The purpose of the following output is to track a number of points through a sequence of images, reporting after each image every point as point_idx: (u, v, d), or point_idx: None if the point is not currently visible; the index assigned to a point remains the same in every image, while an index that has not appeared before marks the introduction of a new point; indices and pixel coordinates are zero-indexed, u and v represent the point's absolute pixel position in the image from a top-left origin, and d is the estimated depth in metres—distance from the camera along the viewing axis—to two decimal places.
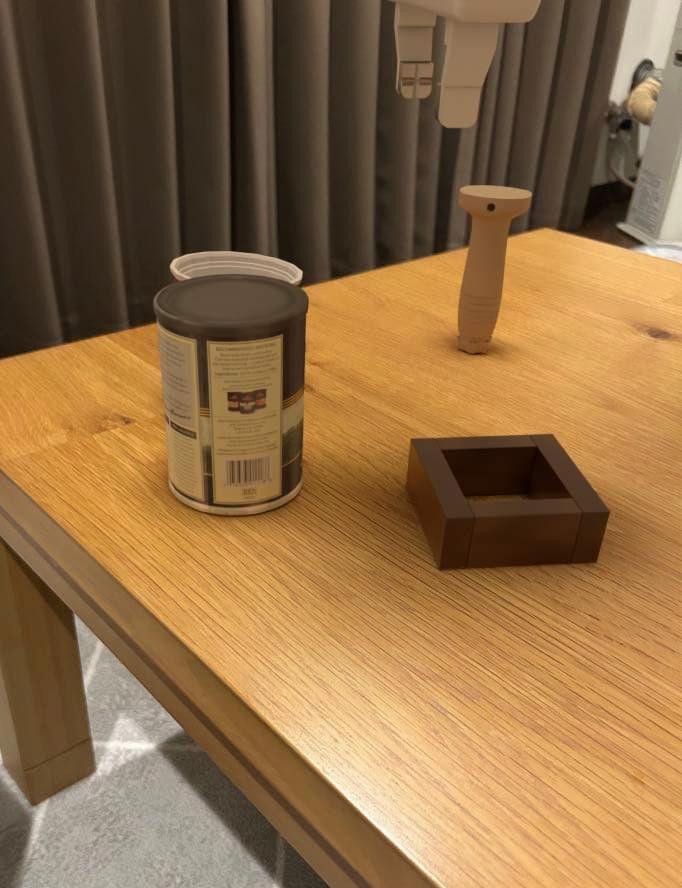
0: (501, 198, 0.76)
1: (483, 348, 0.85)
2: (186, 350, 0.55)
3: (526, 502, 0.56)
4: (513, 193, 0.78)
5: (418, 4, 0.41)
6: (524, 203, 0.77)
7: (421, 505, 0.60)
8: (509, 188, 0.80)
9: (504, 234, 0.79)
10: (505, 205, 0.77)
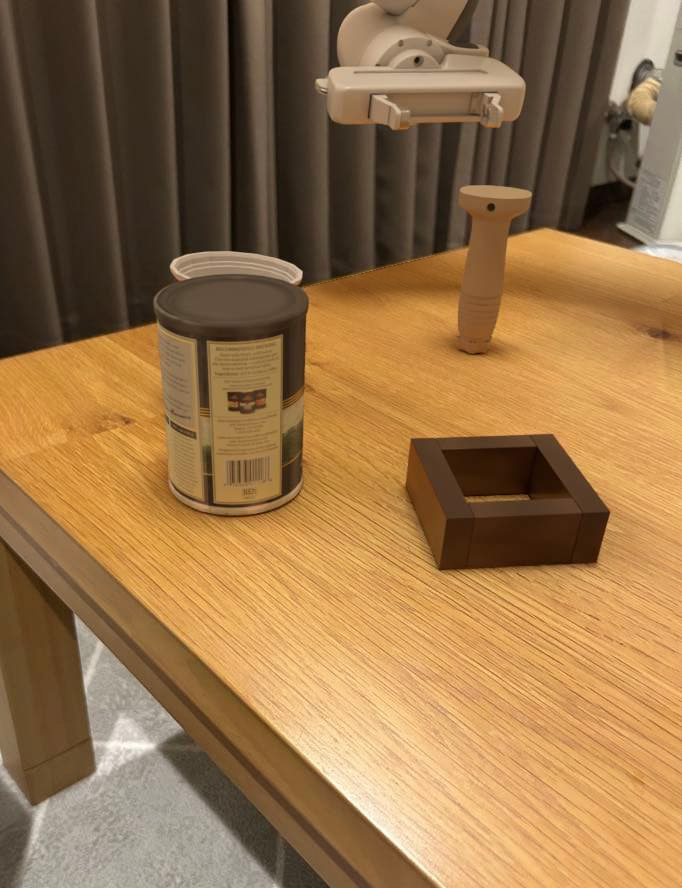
0: (501, 198, 0.76)
1: (483, 348, 0.85)
2: (186, 350, 0.55)
3: (526, 502, 0.56)
4: (513, 193, 0.78)
5: None
6: (524, 203, 0.77)
7: (421, 505, 0.60)
8: (509, 188, 0.80)
9: (504, 234, 0.79)
10: (505, 205, 0.77)
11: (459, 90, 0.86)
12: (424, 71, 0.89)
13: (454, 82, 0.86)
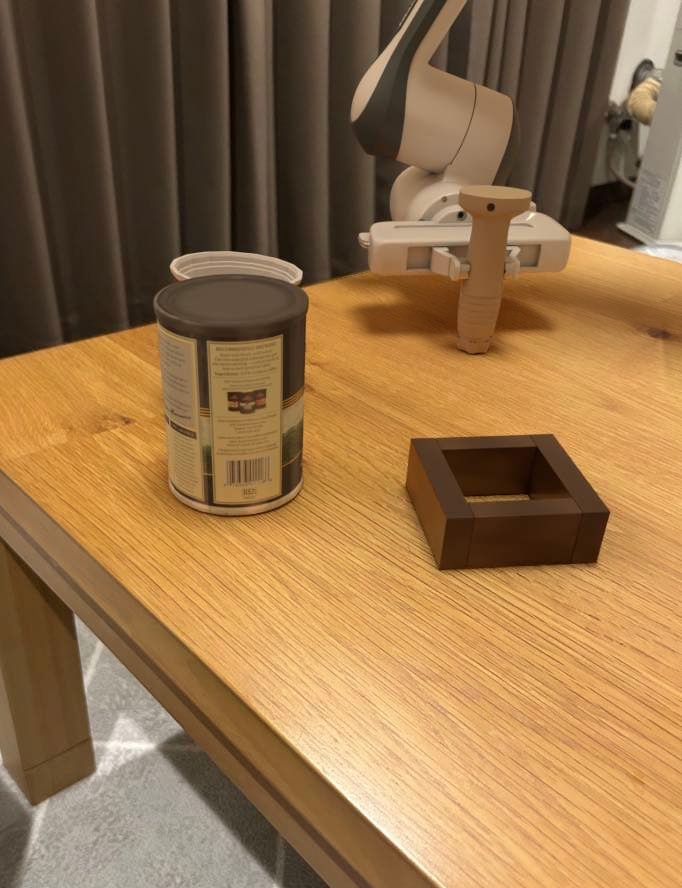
0: (501, 198, 0.76)
1: (483, 348, 0.85)
2: (186, 350, 0.55)
3: (526, 502, 0.56)
4: (513, 193, 0.78)
5: None
6: (523, 203, 0.77)
7: (421, 505, 0.60)
8: (509, 188, 0.80)
9: (504, 234, 0.79)
10: (505, 205, 0.77)
11: None
12: (468, 225, 0.89)
13: None
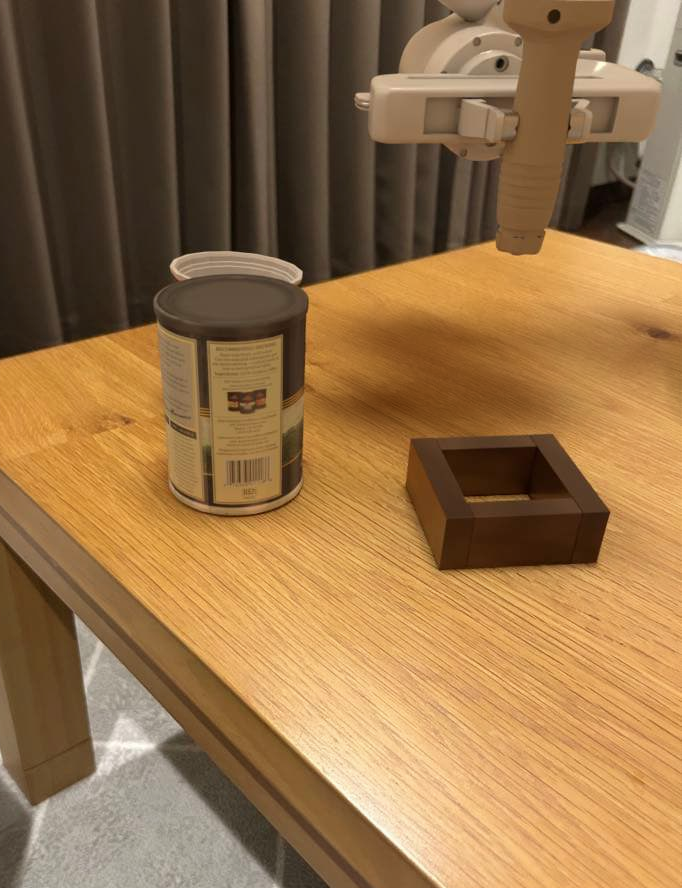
0: (570, 0, 0.50)
1: (534, 247, 0.59)
2: (186, 350, 0.55)
3: (526, 502, 0.56)
4: None
5: (484, 142, 0.60)
6: (604, 9, 0.50)
7: (421, 505, 0.60)
8: None
9: (571, 64, 0.53)
10: (576, 12, 0.50)
11: None
12: (510, 78, 0.63)
13: None
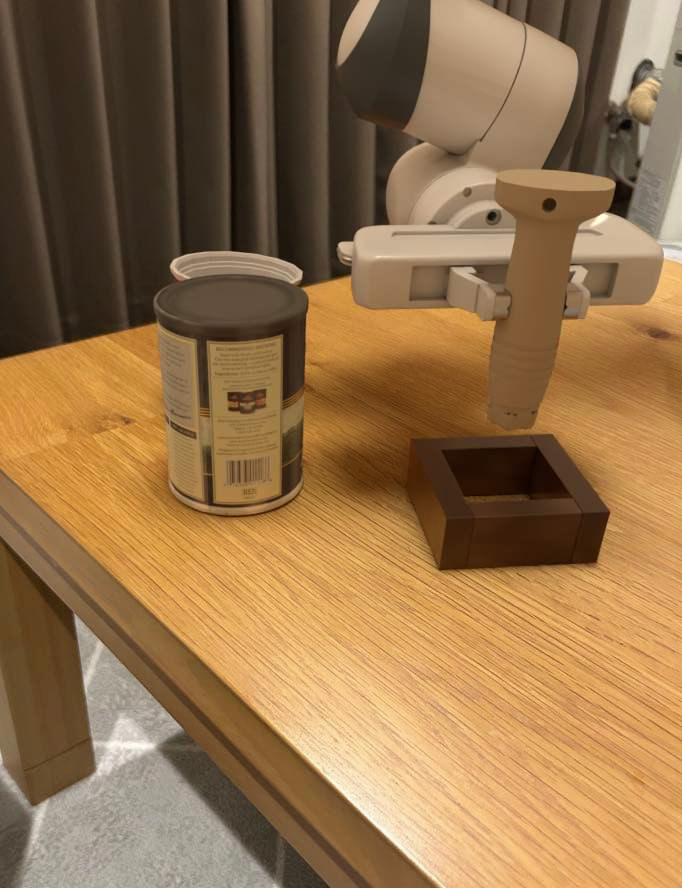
0: (567, 190, 0.46)
1: (527, 423, 0.55)
2: (186, 350, 0.55)
3: (526, 502, 0.56)
4: (584, 182, 0.48)
5: None
6: (604, 198, 0.46)
7: (421, 505, 0.60)
8: (576, 174, 0.49)
9: (568, 248, 0.49)
10: (573, 202, 0.46)
11: None
12: (502, 232, 0.59)
13: None
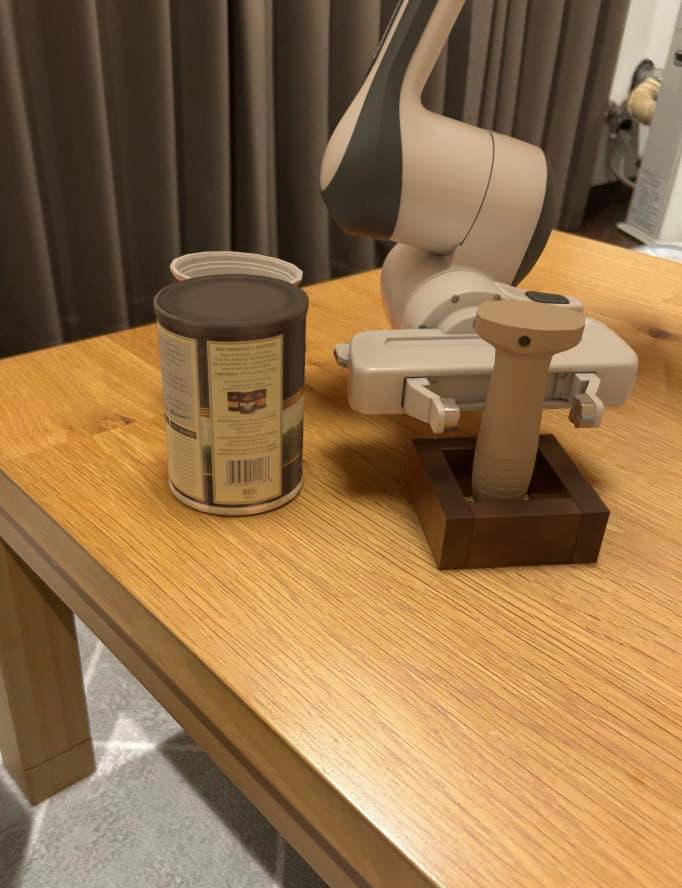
0: (540, 329, 0.51)
1: None
2: (186, 350, 0.55)
3: (526, 502, 0.56)
4: (557, 317, 0.52)
5: (462, 411, 0.60)
6: (574, 336, 0.51)
7: (421, 505, 0.60)
8: (550, 306, 0.54)
9: (543, 375, 0.53)
10: (546, 340, 0.51)
11: None
12: None
13: None
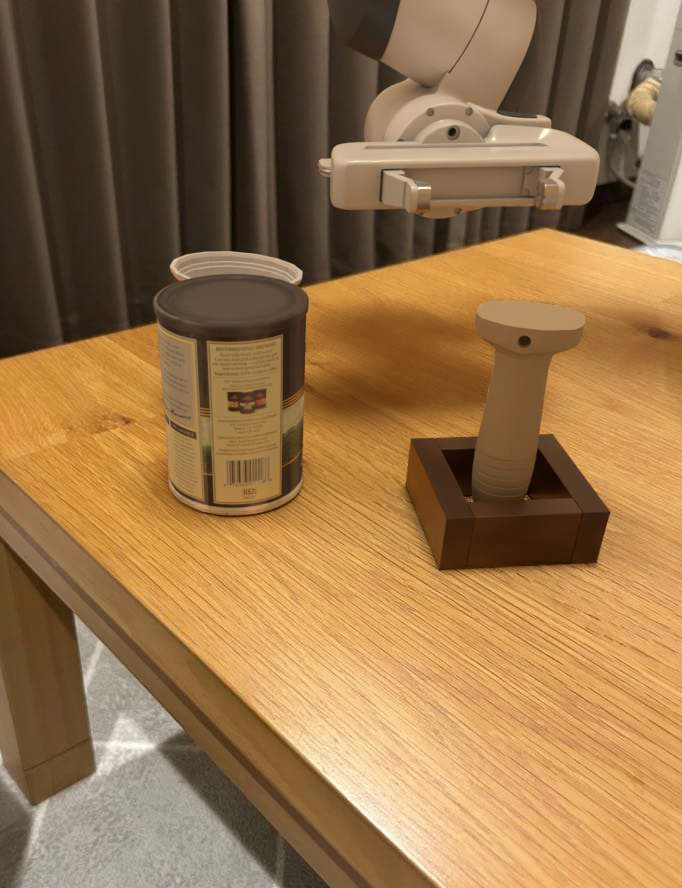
0: (540, 329, 0.51)
1: None
2: (186, 350, 0.55)
3: (526, 502, 0.56)
4: (557, 317, 0.52)
5: (436, 208, 0.65)
6: (574, 336, 0.51)
7: (421, 505, 0.60)
8: (550, 306, 0.54)
9: (543, 375, 0.53)
10: (546, 340, 0.51)
11: (505, 164, 0.63)
12: (461, 145, 0.67)
13: (498, 154, 0.64)
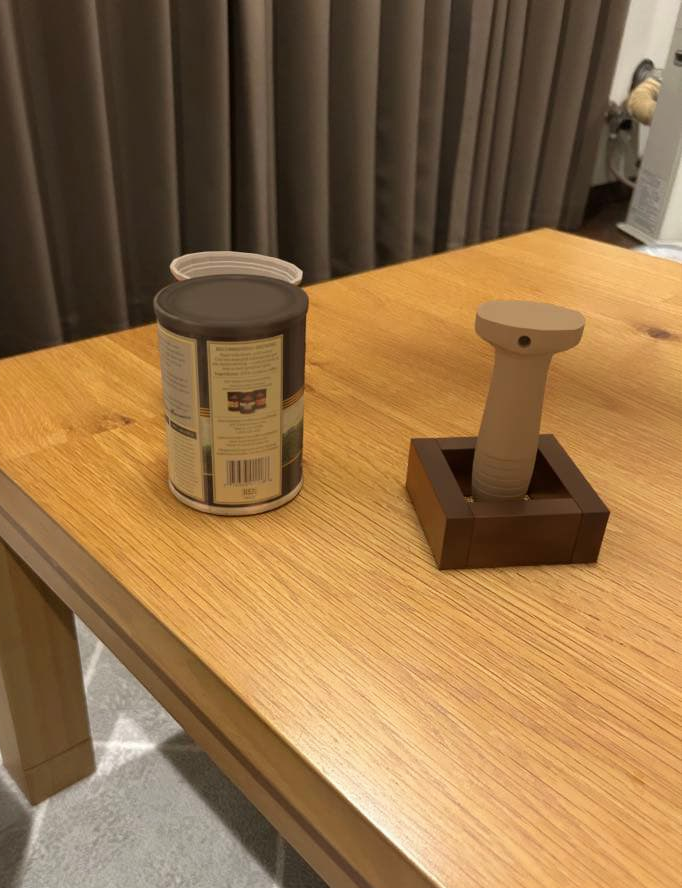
0: (540, 329, 0.51)
1: None
2: (186, 350, 0.55)
3: (526, 502, 0.56)
4: (557, 317, 0.52)
5: None
6: (574, 336, 0.51)
7: (421, 505, 0.60)
8: (550, 306, 0.54)
9: (543, 375, 0.53)
10: (546, 340, 0.51)
11: None
12: None
13: None
